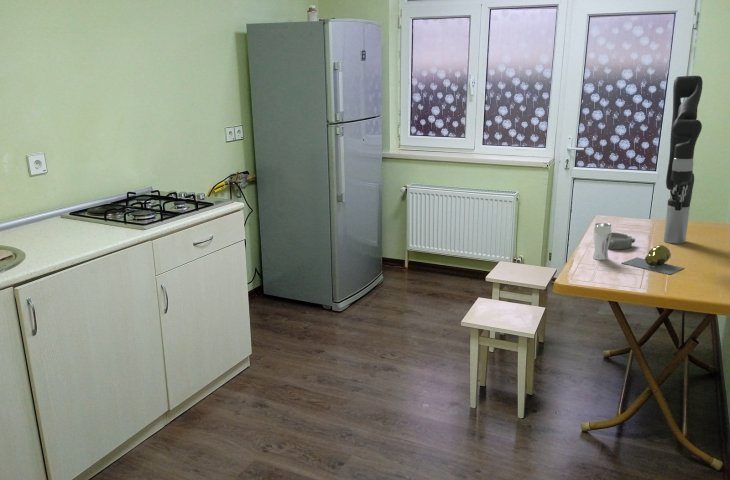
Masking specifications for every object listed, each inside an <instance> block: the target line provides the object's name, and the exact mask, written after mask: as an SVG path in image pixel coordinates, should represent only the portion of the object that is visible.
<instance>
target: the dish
mask: <svg viewBox="0 0 730 480" xmlns="http://www.w3.org/2000/svg"><path fill="white" fill-rule="evenodd" d="M635 242H636V238H633V236H629V235H628V234H627V233H622V232H616V231H615V232H614V231H613V232H612V231H611V239H610V243H609V247H608V249H610V250H611V249H612V250H625V249H629V248H631V247H632V245H633V243H635Z"/></svg>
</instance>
